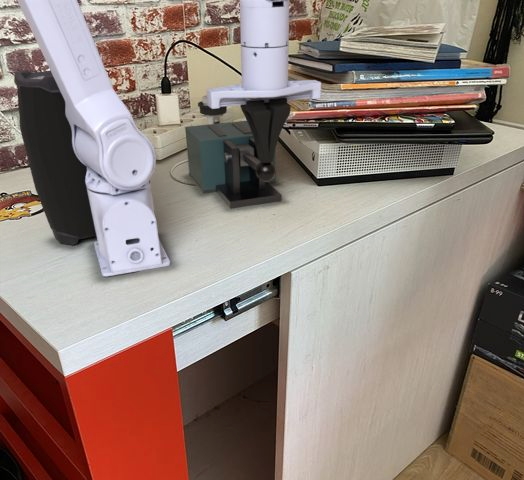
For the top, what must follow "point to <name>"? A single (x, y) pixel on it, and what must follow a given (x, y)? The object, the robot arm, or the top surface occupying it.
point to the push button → (211, 111)
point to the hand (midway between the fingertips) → (265, 160)
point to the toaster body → (215, 153)
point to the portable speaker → (53, 157)
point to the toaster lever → (256, 163)
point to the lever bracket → (245, 191)
